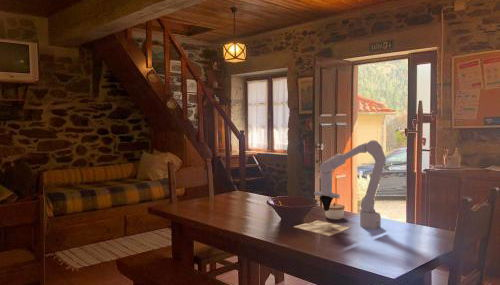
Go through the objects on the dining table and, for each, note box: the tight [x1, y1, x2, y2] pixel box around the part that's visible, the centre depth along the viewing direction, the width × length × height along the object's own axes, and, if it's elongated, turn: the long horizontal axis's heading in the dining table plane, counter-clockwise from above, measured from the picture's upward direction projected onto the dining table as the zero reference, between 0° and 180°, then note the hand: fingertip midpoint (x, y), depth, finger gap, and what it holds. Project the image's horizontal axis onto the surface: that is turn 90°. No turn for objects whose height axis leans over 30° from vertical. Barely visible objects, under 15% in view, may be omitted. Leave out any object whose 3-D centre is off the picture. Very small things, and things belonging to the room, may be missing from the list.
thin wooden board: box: [293, 222, 342, 237], centre depth 191 cm, size 22×10×1 cm, turn 42°
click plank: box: [307, 220, 351, 232], centre depth 198 cm, size 20×8×1 cm, turn 42°
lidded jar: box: [324, 202, 345, 220], centre depth 214 cm, size 11×11×9 cm
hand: (326, 210), depth 203 cm, fingers closed
